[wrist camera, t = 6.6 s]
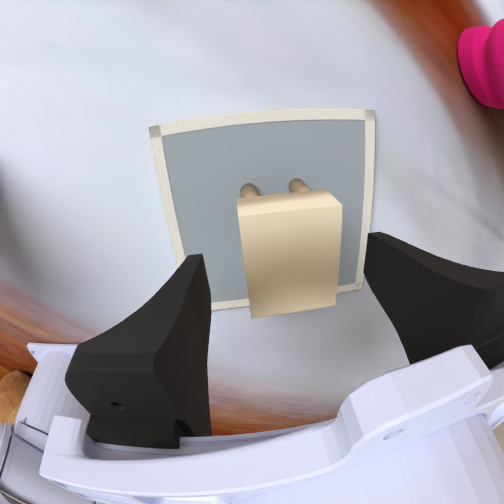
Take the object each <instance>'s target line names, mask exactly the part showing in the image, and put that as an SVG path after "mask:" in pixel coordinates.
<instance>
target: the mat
mask: <svg viewBox="0 0 504 504" xmlns="http://www.w3.org/2000/svg"><path fill="white" fill-rule="evenodd" d="M149 134H150V140H151V146H152V151H153V157H154V162H155V168H156V173H157V178H158V183H159V188H160V193H161V198H162V203H163V207H164V212H165V216H166V221H167V225H168V229H169V234H170V238H171V242H172V246H173V250H174V254H175V258H176V262H177V266H178V268H179V266H180V265H181V264H182V262H183V261H184V260H185V259H186V257H187V256H188V255H195V254H203V258H204V263H205V268H206V272H207V277H208V282H209V286H210V291H211V310H218V309H227V308H236V307H245V306H250V305H249V297H248V290H247V282H246V274H245V267H244V259H243V251H242V243H241V235H240V227H239V219H238V211H237V201H236V199H238V198H241V193H240V190H241V187H242V186H243V185H244V184H247V183H251V184H254V185H255V186H256V188H257V190H258V193H259V196H264V195H273V194H283V193H291V192H290V190H289V187H288V186H289V183H290V181H291V180H293V179H295V178H298V179H301V180H302V181H303V182H304V183H305V184H306V185H307V186H308V187H309V188H310V189H311V191H315V190H327V191H328V192H329V193H330V194H331V195H333V196H334V197H335V198H336V199H337V200H338V201H339V202H340V203H341V204H342V205H343V208H342V231H341V248H340V262H339V275H338V286H337V293H342V292H348V291H353V290H359V289H362V286H363V280H364V273H363V269H364V262H365V254H366V245H367V236H368V233H370V223H371V212H372V198H373V182H374V156H375V111H374V110H368V109H342V108H306V109H280V110H264V111H252V112H241V113H232V114H223V115H216V116H208V117H201V118H195V119H189V120H183V121H177V122H172V123H167V124H161V125H157V126H152V127H149Z"/></svg>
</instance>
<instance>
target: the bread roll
mask: <svg viewBox="0 0 504 504" xmlns="http://www.w3.org/2000/svg"><path fill="white" fill-rule="evenodd" d="M30 381H31V377H29V376H28V375H27V374H25V373H23V372H20V371H17V370H16V371H13V372H11V373H9V374H7V375H5V376H4V377H3V378H2V379H1V381H0V421H1V423H4V422H7V423H8V424H10V425H12V424H13V423H14V421H15V418H16V415H17V413H18V410H19V407H20V405H21V402H22V400H23V397H24V395H25V392H26V390H27V388H28V385H29V383H30Z"/></svg>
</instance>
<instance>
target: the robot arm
mask: <svg viewBox="0 0 504 504" xmlns="http://www.w3.org/2000/svg"><path fill="white" fill-rule="evenodd" d="M363 273H364V275H365V277H366V280H367V282H368V284H369V286H370V288H371V290H372V292H373V293H374V295H375V296H376V298H377V300H378V301H379V303H380V304H381V306H382V308H383V309H384V311H385V312H386V314H387V315H388V317H389V319H390V320H391V322H392V324H393V325H394V327H395V329H396V331H397V333H398V335H399V338H400V340H401V342H402V344H403V347H404V349H405V352H406V355H407V357H408V360H409V363H410V365H408V366H405V367H402V368H399V369H395V370H392V371H389V372H386V373H384V374H381V375H379V376H377V377H374V378H372V379H370V380H367V381H366V382H364V383H363V384H362V385H360V386H359V387H357V388H356V389H354V390H353V391H352V392H351V393H350V394H349V395H348V397H347V398H346V399H345V401H344V402H343V403H342V405H341V406H340V409H339V412H338V415H337V417H336V418H334V419H331V420H328V421H324V422H319V423H314V424H309V425H304V426H299V427H293V428H287V429H281V430H274V431H267V432H259V433H250V434H239V435H227V436H212V431H211V421H210V409H209V395H208V374H207V356H208V345H209V334H210V324H211V313H212V312H211V291H210V286H209V282H208V277H207V272H206V268H205V263H204V258H203V254H195V255H188V256H187V257H186V259H185V260H184V261H183V262H182V264H181V265H180V266H179V268H178V269H177V270H176V271H175V273H174V274H173V275H172V276H171V277H170V279H169V280H168V281H167V282H166V283H165V284H164V285H163V286H162V287H161V289H160V290H159V291H158V292H157V293H156V294H155V295H154V296H153V297H152V298H151V299H150V300H149V301H147V302H146V303H145V304H144V305H143V306H142V307H141V308H139V309H138V310H137V311H135V312H134V313H133V314H131V315H130V316H129V317H127V318H126V319H125V320H123V321H122V322H120V323H119V324H117V325H116V326H114V327H112V328H111V329H109V330H107V331H105V332H104V333H102V334H100V335H98V336H96V337H94V338H92V339H90V340H88V341H86V342H83V343H81V344H79V345H76V344H45V343H28V345H27V348H28V349H29V351H30V352H31V354H32V355H33V356H34V358H35V359H36V360H37V362H38V365H37V367H36V369H35V372H34V374H33V376H32V378H31V381H30V383H29V385H28V388H27V390H26V392H25V395H24V397H23V400H22V402H21V405H20V407H19V410H18V413H17V415H16V418H15V421H14V423H13V424H12V425H10V424H8V423H7V422H4V423H1V424H0V490H2V491H4V492H5V493H7V494H9V495H11V496H13V497H15V498H17V499H18V500H20V501H22V502H24V503H27V504H504V453H503V451H502V449H501V447H500V445H499V443H498V441H497V439H496V437H495V435H494V433H493V431H492V430H493V429H494V428H495V427H497V426H498V425H499V424H501V423H502V422H503V421H504V272H497V271H490V270H484V269H479V268H474V267H470V266H466V265H462V264H459V263H455V262H452V261H449V260H446V259H443V258H441V257H438V256H436V255H433V254H431V253H428V252H426V251H424V250H421V249H419V248H417V247H415V246H413V245H410V244H408V243H406V242H404V241H402V240H399V239H397V238H395V237H393V236H390V235H388V234H385V233H382V232H374V233H368V236H367V245H366V254H365V262H364V269H363ZM0 504H21V503H19V502H17V501H16V500H14V499H12V498H10V497H8V496H6V495H5V494H4V493H2V492H1V491H0Z"/></svg>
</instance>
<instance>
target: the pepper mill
mask: <svg viewBox="0 0 504 504" xmlns="http://www.w3.org/2000/svg"><path fill="white" fill-rule="evenodd" d="M457 51H458V61H459V66H460V70H461V73H462V75H463V78H464V81H465V83H466V84H467V86H468V88H469V90H470V92H471V93H472V94H473V95H474V97H475V98H476V99H477V100H478V101H479V102H481V103H482V104H484V105H486V106H489V107H494V108H498V109H503V110H504V19H501V20H499V21H498V22H497V23H496V24H495V25H494V26H493V27H492V28H490V27H487V26H481V27H470V28H467V29H465V30H464V31H463V32H462V33H461V35H460V38H459V40H458V48H457Z"/></svg>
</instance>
